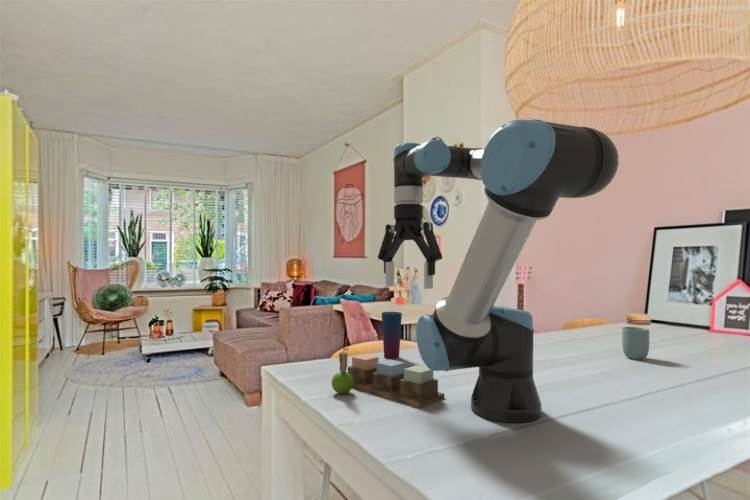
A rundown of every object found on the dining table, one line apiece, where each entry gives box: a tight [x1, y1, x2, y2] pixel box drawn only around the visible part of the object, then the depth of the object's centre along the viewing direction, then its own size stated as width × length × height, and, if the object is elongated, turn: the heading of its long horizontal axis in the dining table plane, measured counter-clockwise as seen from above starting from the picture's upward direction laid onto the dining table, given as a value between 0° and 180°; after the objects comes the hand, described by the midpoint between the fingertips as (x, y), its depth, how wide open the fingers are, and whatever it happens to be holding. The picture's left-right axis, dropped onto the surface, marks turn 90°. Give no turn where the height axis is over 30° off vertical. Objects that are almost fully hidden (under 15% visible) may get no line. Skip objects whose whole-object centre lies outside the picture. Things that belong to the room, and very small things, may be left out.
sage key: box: [404, 364, 434, 385], centre depth 108 cm, size 5×5×3 cm
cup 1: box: [381, 311, 403, 360], centre depth 151 cm, size 7×7×15 cm
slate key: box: [377, 359, 405, 377], centre depth 115 cm, size 5×5×3 cm
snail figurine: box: [331, 347, 353, 395], centre depth 112 cm, size 5×6×12 cm
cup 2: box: [621, 326, 650, 361], centre depth 151 cm, size 8×8×10 cm
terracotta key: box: [351, 353, 379, 371], centre depth 121 cm, size 5×5×3 cm
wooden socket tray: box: [347, 365, 445, 409], centre depth 115 cm, size 26×10×5 cm, turn 47°
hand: (408, 287), depth 117 cm, fingers open, 12 cm apart
